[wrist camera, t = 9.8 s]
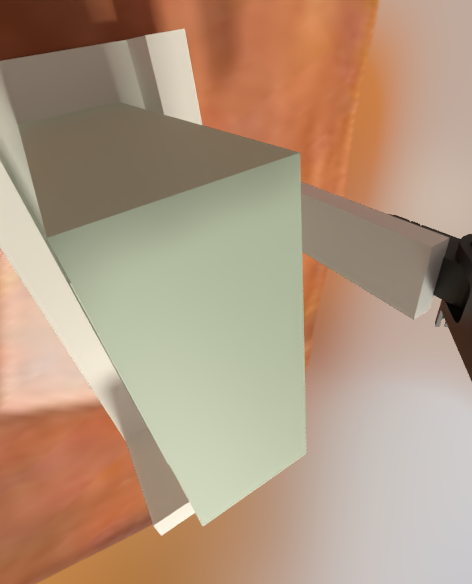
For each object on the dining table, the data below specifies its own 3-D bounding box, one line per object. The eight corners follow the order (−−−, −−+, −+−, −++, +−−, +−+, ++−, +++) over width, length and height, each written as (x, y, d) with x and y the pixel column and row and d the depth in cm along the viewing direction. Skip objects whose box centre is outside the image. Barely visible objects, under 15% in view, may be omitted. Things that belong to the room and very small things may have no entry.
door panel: (13, 125, 13) (34, 242, 4) (122, 101, 14) (307, 150, 6) (109, 318, 19) (198, 529, 10) (179, 288, 20) (309, 450, 12)
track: (-93, 76, 11) (-193, 84, 6) (157, 34, 14) (261, 11, 8) (123, 424, 24) (161, 535, 19) (231, 366, 27) (292, 445, 22)
